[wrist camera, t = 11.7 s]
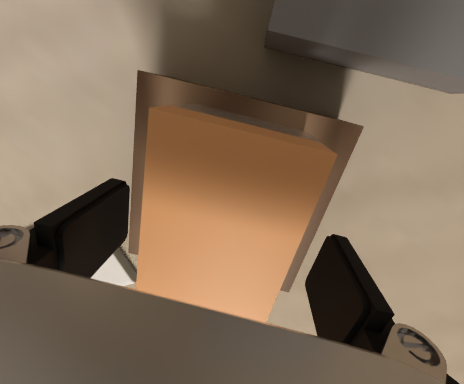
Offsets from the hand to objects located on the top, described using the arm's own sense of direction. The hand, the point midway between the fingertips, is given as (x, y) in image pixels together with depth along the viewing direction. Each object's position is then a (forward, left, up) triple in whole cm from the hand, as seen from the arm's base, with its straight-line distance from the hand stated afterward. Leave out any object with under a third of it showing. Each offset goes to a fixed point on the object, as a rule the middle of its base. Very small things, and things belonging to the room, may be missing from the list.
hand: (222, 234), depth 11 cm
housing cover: (0, 0, 0) cm, 0 cm away
